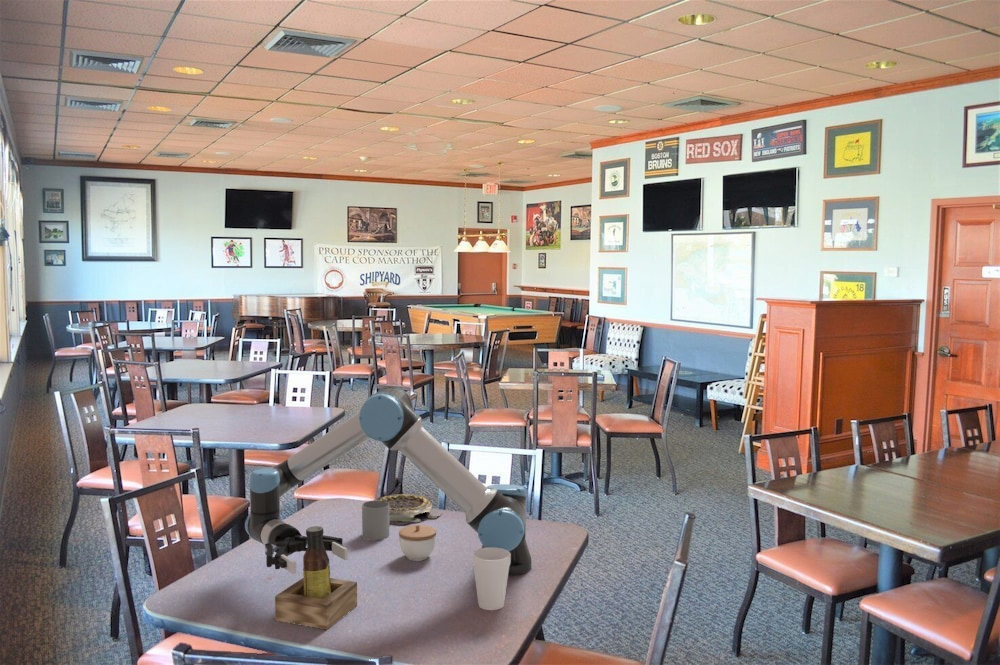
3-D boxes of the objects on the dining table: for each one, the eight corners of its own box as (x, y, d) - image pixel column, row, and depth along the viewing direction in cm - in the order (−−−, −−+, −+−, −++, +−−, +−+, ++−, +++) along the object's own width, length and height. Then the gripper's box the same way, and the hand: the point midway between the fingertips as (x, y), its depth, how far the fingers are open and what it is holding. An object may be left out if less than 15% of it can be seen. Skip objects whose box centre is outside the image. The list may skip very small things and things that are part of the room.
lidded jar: (413, 566, 218) (412, 534, 217) (391, 556, 226) (391, 524, 225) (443, 557, 225) (443, 526, 224) (421, 547, 233) (421, 517, 232)
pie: (345, 520, 259) (345, 505, 259) (386, 499, 285) (386, 485, 284) (420, 531, 249) (420, 516, 249) (455, 508, 275) (456, 494, 274)
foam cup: (496, 616, 187) (497, 563, 186) (465, 607, 192) (465, 556, 191) (517, 602, 195) (517, 551, 194) (486, 593, 200) (486, 544, 199)
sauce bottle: (336, 608, 189) (335, 528, 187) (314, 617, 184) (312, 535, 182) (320, 600, 193) (319, 522, 191) (298, 608, 188) (297, 528, 187)
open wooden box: (357, 605, 193) (357, 582, 192) (326, 630, 179) (326, 605, 179) (308, 597, 197) (308, 574, 197) (275, 620, 184) (274, 596, 184)
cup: (383, 541, 239) (383, 509, 238) (358, 539, 240) (358, 507, 239) (392, 532, 247) (392, 501, 246) (368, 530, 248) (368, 499, 248)
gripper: (325, 541, 210) (366, 563, 194) (234, 563, 193) (271, 590, 178) (324, 513, 209) (366, 534, 193) (234, 534, 193) (271, 558, 177)
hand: (321, 561), depth 185 cm, fingers open, 13 cm apart
